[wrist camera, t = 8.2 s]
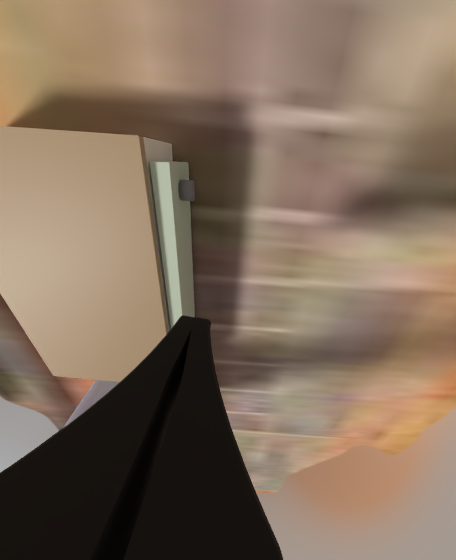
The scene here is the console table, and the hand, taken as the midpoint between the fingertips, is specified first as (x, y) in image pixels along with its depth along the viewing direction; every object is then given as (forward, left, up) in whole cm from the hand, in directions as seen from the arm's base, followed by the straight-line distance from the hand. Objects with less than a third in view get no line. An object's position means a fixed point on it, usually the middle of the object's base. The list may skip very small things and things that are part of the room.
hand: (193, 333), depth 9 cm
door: (-2, +2, -9) cm, 10 cm away
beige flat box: (-2, +9, -9) cm, 13 cm away
